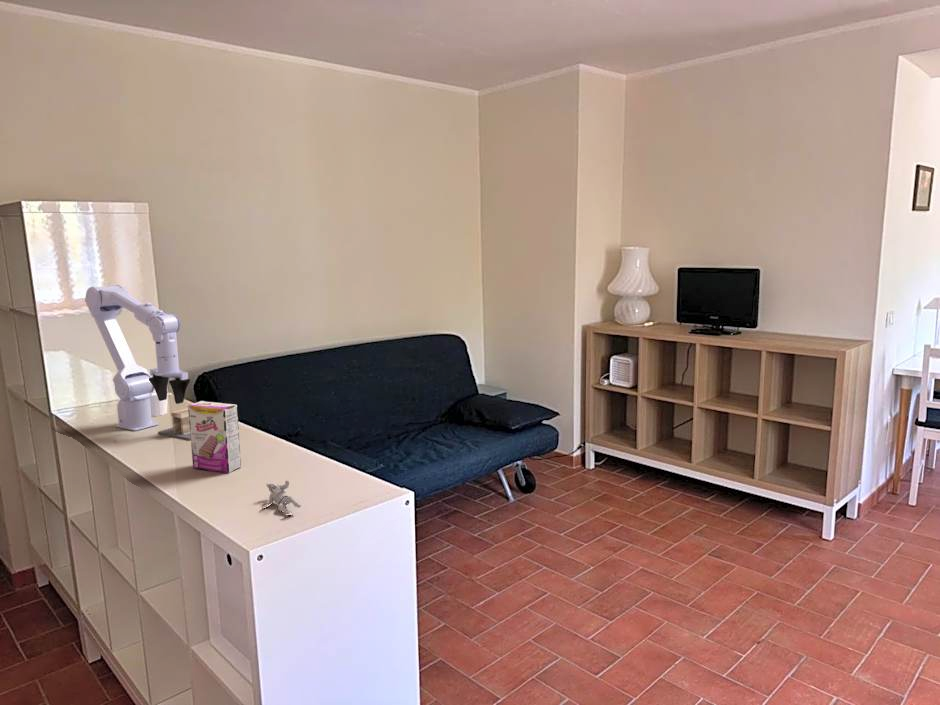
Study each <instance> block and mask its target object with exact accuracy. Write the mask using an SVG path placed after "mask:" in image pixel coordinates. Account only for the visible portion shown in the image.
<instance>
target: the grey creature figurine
mask: <svg viewBox="0 0 940 705" xmlns="http://www.w3.org/2000/svg"><path fill="white" fill-rule="evenodd" d="M284 481H285V482H284V484H279V483H274V482H268V483H266V487H267V489H268V490H269V492H270V494H269V497H268V498H269V499H268V503H267V504H265V505H263V506H262V507H261V510H264V509H263V507H266V506H267V505H269V504H271V503H272V502H273V501H274V502H273V503H275V504H277V508H278V511H279V510H281V511H284V512H285V513H284V512H283V513H284V516H286V514H289V513H290V512H291V511H290V510H288V509H287V507H286V505H287V504H288V505H289V504H292V505H293V507H295V508H299V509H300V508H301V507H302V505H301V504H300V503H299V502H298V501H297V500H296V499H295V498H294V497H293V496H292V495H288V494H286V491H285V490H287V489H289V486H290V481H289V480H288V479H286V480H284ZM285 502H286V503H285ZM285 507H286V508H285ZM281 511H280V512H281Z"/></svg>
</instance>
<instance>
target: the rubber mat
mask: <svg viewBox="0 0 940 705" xmlns="http://www.w3.org/2000/svg"><path fill="white" fill-rule="evenodd" d="M157 433H158V434H157V435H163V436H168V437H172V438H177V439H182V440H186V441H191V434H190V432H189V433H186V434H182V432H181V431H179V432H174V431H173V427H170V428H166V429H163V430H159V431H157Z"/></svg>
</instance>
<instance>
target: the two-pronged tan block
mask: <svg viewBox="0 0 940 705" xmlns="http://www.w3.org/2000/svg"><path fill="white" fill-rule="evenodd" d="M170 414H171V417H172V419H171V421H172V428H173V431H174V432H179V431H181V432H182V434H186V433H189V432H190V423H189V411H188V407H187V408H184V409H180V410H179V409H178V410H175V411H172V412H171V413H170Z"/></svg>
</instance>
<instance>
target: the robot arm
mask: <svg viewBox="0 0 940 705" xmlns="http://www.w3.org/2000/svg"><path fill="white" fill-rule="evenodd" d="M84 303H85V304H86V307H87V308H88V311H89V313H90V315H91V317H92V318H93V319H94V322H95V323H96V326H97V329H98V331H99V333H100V335H101V337H102V339H103V341H104V343H105V346H106V348H107V350H108V352H109V355H110V356H111V358H112V360H113V362H114V365H115V367H116V370H117V371H116V374H115V375H114V376H113V378H112V381H113V384H114V390H115V394H116V396H117V397H118V398H119V400H118V402H117V407H116V408H117V409H116V410H117V418H118V424H116V428H120V429H125V430H129V431H135V432H137V431H140V430H144V429H147V428H151V427H153V426H158V425H159V422H154V421H153V418H152V416H151V407H150V396H152V393H153V392H156V394H157V396H158V399H159V401H162V400H166V399H167V400H168V397H167V393H168V383H169V385H170V387H171V389H172V393H173V397H174V402H175V404H177V405H179V404H182V403H184V401H185V395H186V391H187V388H188V386H189V384H190V382H191V379H190V378H189V374H188V372H187V371H184V370H181V369H180V364H179V363H180V362H179V353H178V352H179V350H178V341H177V340H178V339H177V338H178V337H177V334H178V332H179V331H180V329H181V322H180V319H179V317H178V316H177V315H176V314H175V313H173V312H172V313H165V312H164V311H163V310H162V309H159V308H157V307H155V306H154V305H153V303H152V302H140V301H139V300H138V299H136V298H135V297H133V296H132V295H131V294H130V293H128V289H127V288H125V287H123V286H122V285H120V284H117V285H108V286H90V287H89V288H87V289H86V292H85V298H84ZM123 309H125V310H127V311H129V312H131V313H133V315H134V318H135V320H137V321H139V323H142V324H144V325H145V326H146V327H148V330H149V332H150V333H151V335H152V340H153V341H154V343H155V344H154V345H155V357H156V358H155V359H156V367H154V368H150V369H149V372H148V370H147V368H145V367H143V366H140V365H139V364H137V362H136V360H135V358H134V356H133V353H132V351H131V349H130V346H129V345H128V343H127V341H126V338H125V337H124V334H123V332H122V329H121V327H120V325H119V323H118V321H117V316H120V315H121V313H122V310H123ZM169 379H171V380H169Z"/></svg>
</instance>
